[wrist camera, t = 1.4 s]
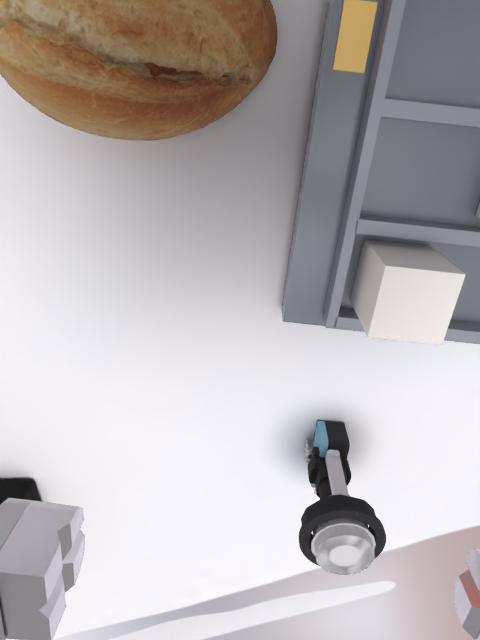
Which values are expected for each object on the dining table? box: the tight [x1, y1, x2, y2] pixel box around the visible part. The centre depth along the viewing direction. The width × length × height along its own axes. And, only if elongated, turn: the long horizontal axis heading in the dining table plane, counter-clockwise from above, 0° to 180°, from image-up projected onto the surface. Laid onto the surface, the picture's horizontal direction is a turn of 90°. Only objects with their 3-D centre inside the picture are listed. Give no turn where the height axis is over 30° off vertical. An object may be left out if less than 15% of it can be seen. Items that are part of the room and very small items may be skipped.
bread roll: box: [0, 0, 277, 140], centre depth 21 cm, size 10×15×8 cm, turn 84°
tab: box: [350, 239, 466, 345], centre depth 25 cm, size 4×4×5 cm
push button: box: [299, 421, 386, 575], centre depth 32 cm, size 7×5×10 cm
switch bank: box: [282, 0, 480, 344], centre depth 25 cm, size 20×18×4 cm
